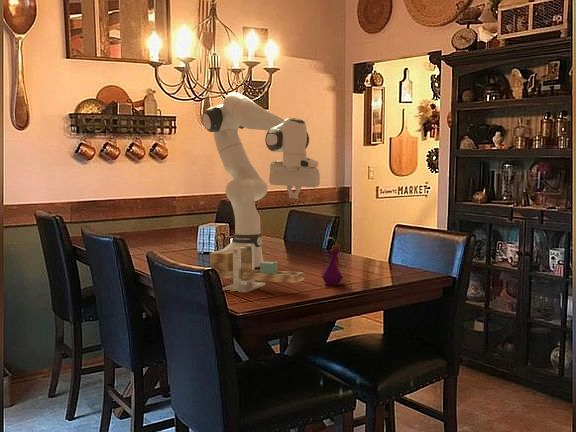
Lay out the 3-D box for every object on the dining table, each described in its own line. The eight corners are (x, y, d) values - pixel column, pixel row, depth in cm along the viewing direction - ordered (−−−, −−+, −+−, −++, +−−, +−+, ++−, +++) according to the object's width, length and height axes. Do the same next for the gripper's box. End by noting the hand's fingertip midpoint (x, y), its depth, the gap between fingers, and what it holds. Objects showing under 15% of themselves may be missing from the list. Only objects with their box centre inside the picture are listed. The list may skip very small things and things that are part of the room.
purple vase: (340, 282, 253) (340, 235, 251) (342, 286, 245) (342, 238, 243) (321, 282, 252) (320, 236, 251) (322, 286, 245) (322, 238, 243)
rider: (260, 276, 238) (259, 263, 238) (265, 274, 242) (265, 261, 241) (272, 277, 236) (271, 263, 236) (277, 275, 240) (277, 261, 239)
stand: (222, 290, 241) (221, 248, 239) (242, 283, 253) (242, 243, 252) (246, 292, 236) (245, 250, 235) (265, 285, 248) (264, 244, 247)
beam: (210, 277, 247) (209, 251, 246) (220, 274, 253) (219, 249, 252) (296, 283, 231) (295, 255, 230) (304, 279, 236) (303, 252, 235)
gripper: (266, 160, 251) (265, 196, 253) (314, 163, 241) (313, 200, 243) (274, 160, 256) (273, 195, 258) (322, 162, 247) (321, 199, 249)
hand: (293, 198), depth 250 cm, fingers closed
